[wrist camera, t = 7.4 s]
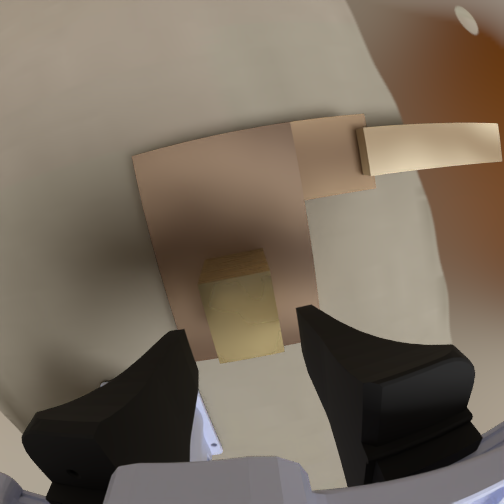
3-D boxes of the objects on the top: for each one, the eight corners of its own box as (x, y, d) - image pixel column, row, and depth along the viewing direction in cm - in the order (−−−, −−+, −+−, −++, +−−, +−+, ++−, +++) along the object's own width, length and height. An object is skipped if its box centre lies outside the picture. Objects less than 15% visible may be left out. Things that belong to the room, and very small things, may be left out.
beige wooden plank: (492, 160, 15) (502, 161, 14) (363, 175, 15) (370, 176, 14) (487, 124, 15) (497, 123, 14) (355, 129, 15) (363, 127, 14)
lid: (319, 330, 19) (339, 371, 14) (190, 355, 19) (181, 400, 14) (287, 123, 15) (305, 110, 11) (136, 156, 15) (105, 155, 11)
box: (365, 299, 21) (384, 320, 18) (194, 335, 21) (189, 362, 18) (343, 120, 18) (364, 113, 15) (148, 157, 18) (131, 156, 15)
